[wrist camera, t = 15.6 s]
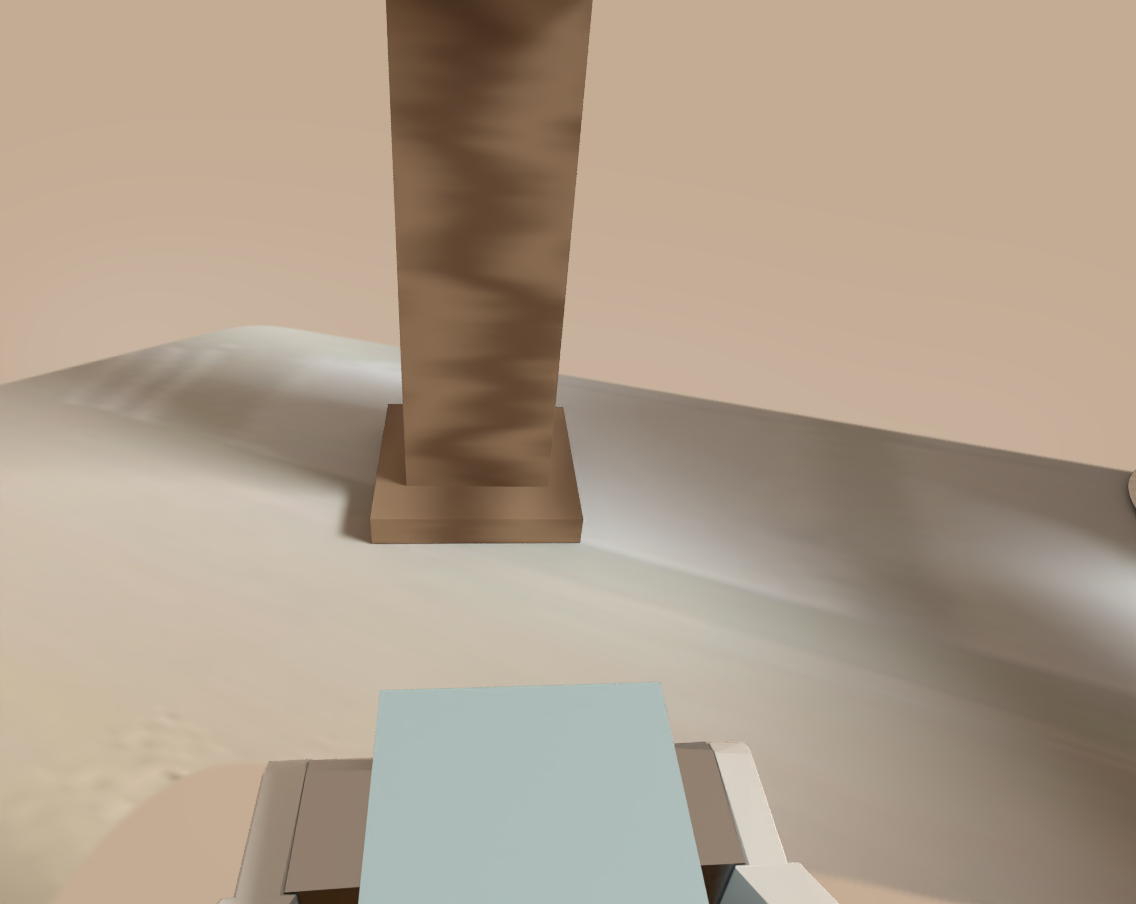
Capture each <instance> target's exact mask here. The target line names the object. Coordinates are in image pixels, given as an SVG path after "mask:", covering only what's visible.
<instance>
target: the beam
mask: <svg viewBox="0 0 1136 904" xmlns="http://www.w3.org/2000/svg"><path fill="white" fill-rule="evenodd" d="M358 904H709V901H708V897H707V892H706V888H705V883H704V879H703V874H702V869H701V865H700V860H699V856H698V851H697V847H696V842H695V838H694V833H693V828H692V824H691V819H690V815H689V810H688V806H687V801H686V796H685V792H684V787H683V783H682V778H681V774H680V769H679V765H678V760H677V755H676V751H675V746H674V742H673V737H672V733H671V728H670V723H669V719H668V714H667V710H666V705H665V701H664V696H663V691H662V687H661V682H647V683H613V684H579V685H546V686H512V687H478V688H444V689H410V690H380V695H379V705H378V715H377V725H376V735H375V745H374V754H373V764H372V774H371V784H370V794H369V803H368V813H367V823H366V833H365V843H364V852H363V862H362V872H361V882H360V892H359V901H358Z"/></svg>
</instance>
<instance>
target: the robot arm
mask: <svg viewBox="0 0 1136 904" xmlns="http://www.w3.org/2000/svg"><path fill="white" fill-rule="evenodd" d="M1128 489H1129V494H1130V497H1131V500H1132V502H1133V504H1134V506H1135V508H1136V470H1135V471H1134V472H1133V473H1132V475H1131V477H1130V479H1129V484H1128ZM674 746H675V751H676V755H677V760H678V765H679V769H680V774H681V778H682V783H683V787H684V792H685V796H686V801H687V806H688V810H689V815H690V819H691V824H692V828H693V833H694V838H695V842H696V847H697V851H698V856H699V860H700V865H701V869H702V874H703V879H704V883H705V888H706V892H707V897H708V901H709V904H839V903H838V902H837V901H836V900H835V899H834V898H833V897H832V896H831V895H830V894H829V893H828V891H826V890H825V888H824V887H823V886H822V885H821V884H820V883H819V882H818V881H817V880H816V879H815V878H814V877H813V876H812V875H811V874H810V873H809V872H808V871H807V870H806V869H805V868H804V867H803V866H802V865H801V864H800V863H799V862H787V859H786V856H785V853H784V850H783V847H782V844H781V841H780V838H779V835H778V832H777V829H776V826H775V823H774V820H773V817H772V814H771V811H770V808H769V805H768V802H767V799H766V796H765V793H764V790H763V787H762V784H761V781H760V778H759V775H758V772H757V769H756V766H755V763H754V760H753V757H752V754H751V751H750V749H749V748H748V746H747V745H746V744H745V743H744V742H742V741H725V742H692V743H676V744H674ZM372 764H373V758H350V759H326V760H311V759H306V760H287V761H269V762H268V764H267V767H266V769H265V771H264V773H263V775H262V778H261V783H260V787H259V791H258V796H257V800H256V805H255V808H254V813H253V817H252V821H251V825H250V829H249V834H248V839H247V842H246V846H245V851H244V855H243V859H242V863H241V868H240V872H239V876H238V881H237V885H236V889H235V893H234V897H233V898H224V899H220V900H219V901H218V903H217V904H358V901H359V892H360V882H361V872H362V862H363V852H364V843H365V833H366V823H367V813H368V803H369V794H370V784H371V774H372Z"/></svg>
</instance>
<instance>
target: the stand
mask: <svg viewBox="0 0 1136 904" xmlns="http://www.w3.org/2000/svg"><path fill="white" fill-rule="evenodd" d="M591 10H592V0H386V12H387V36H388V61H389V85H390V105H391V106H390V107H391V131H392V155H393V180H394V203H395V227H396V251H397V274H398V296H399V297H398V298H399V323H400V346H401V370H402V394H403V404H388V408H387V415H386V421H385V427H384V433H383V440H382V446H381V452H380V459H379V465H378V471H377V477H376V484H375V490H374V496H373V503H372V509H371V515H370V528H371V540H372V543H575V542H580V539H581V531H582V524H583V516H582V511H581V505H580V499H579V494H578V488H577V483H576V477H575V472H574V466H573V460H572V455H571V449H570V444H569V438H568V433H567V427H566V422H565V416H564V410H563V407H555V403H556V392H557V382H558V371H559V360H560V348H561V338H562V327H563V316H564V304H565V295H566V284H567V272H568V262H569V251H570V240H571V229H572V218H573V207H574V196H575V185H576V175H577V164H578V153H579V142H580V131H581V120H582V110H583V98H584V87H585V76H586V66H587V55H588V44H589V33H590V22H591V12H592V11H591Z"/></svg>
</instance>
